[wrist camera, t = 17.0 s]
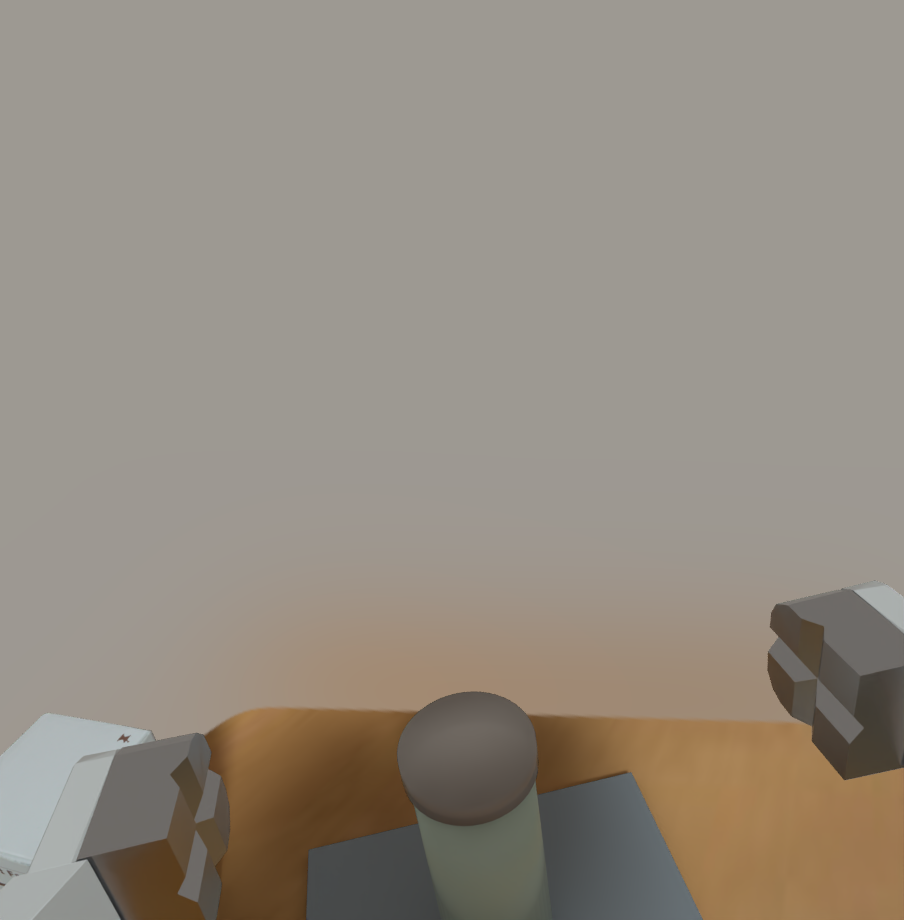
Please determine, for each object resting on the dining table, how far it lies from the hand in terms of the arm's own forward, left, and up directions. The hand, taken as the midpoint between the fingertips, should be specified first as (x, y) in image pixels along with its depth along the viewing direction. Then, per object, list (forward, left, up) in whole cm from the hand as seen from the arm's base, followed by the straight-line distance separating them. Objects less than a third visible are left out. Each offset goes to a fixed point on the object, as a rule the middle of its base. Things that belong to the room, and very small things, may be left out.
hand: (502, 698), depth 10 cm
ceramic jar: (0, +14, -29) cm, 33 cm away
